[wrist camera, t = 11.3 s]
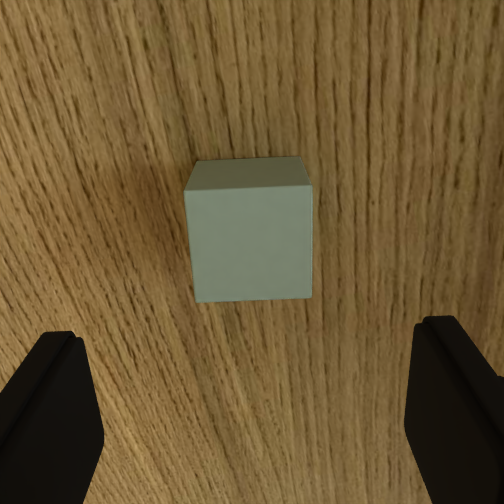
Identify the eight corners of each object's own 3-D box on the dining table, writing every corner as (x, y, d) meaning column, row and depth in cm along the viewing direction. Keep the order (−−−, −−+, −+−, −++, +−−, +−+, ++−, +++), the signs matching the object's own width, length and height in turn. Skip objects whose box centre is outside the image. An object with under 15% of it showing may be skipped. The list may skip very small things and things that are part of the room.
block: (300, 155, 20) (312, 184, 16) (300, 251, 22) (312, 298, 18) (196, 160, 20) (182, 190, 16) (205, 255, 22) (195, 303, 18)
